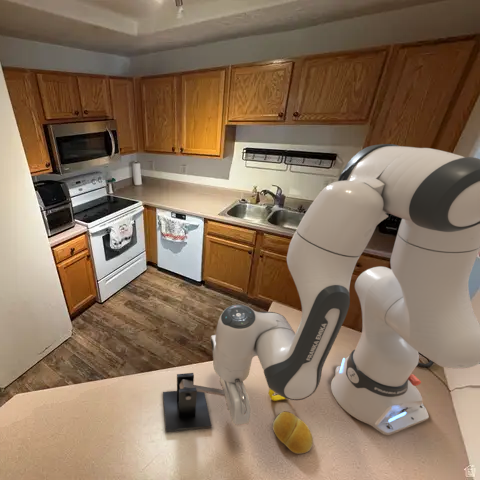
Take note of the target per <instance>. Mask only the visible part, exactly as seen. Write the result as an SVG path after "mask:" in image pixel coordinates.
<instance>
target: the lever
mask: <svg viewBox="0 0 480 480" xmlns="http://www.w3.org/2000/svg"><path fill="white" fill-rule="evenodd" d="M179 386H180V389H185V388H196V389H197V392H203V393H204V394H209V395H214V396H222V397H224V398H225V394H224V391H223V387H222V386H221V389H220V388H215V387H210V386H209V387H208V386H203V385H197V384H193V382H192V381H191V380H185V379H183V380H182V381H181V383H180V384H179ZM226 402H227V401H226V398H225V403H226Z"/></svg>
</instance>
